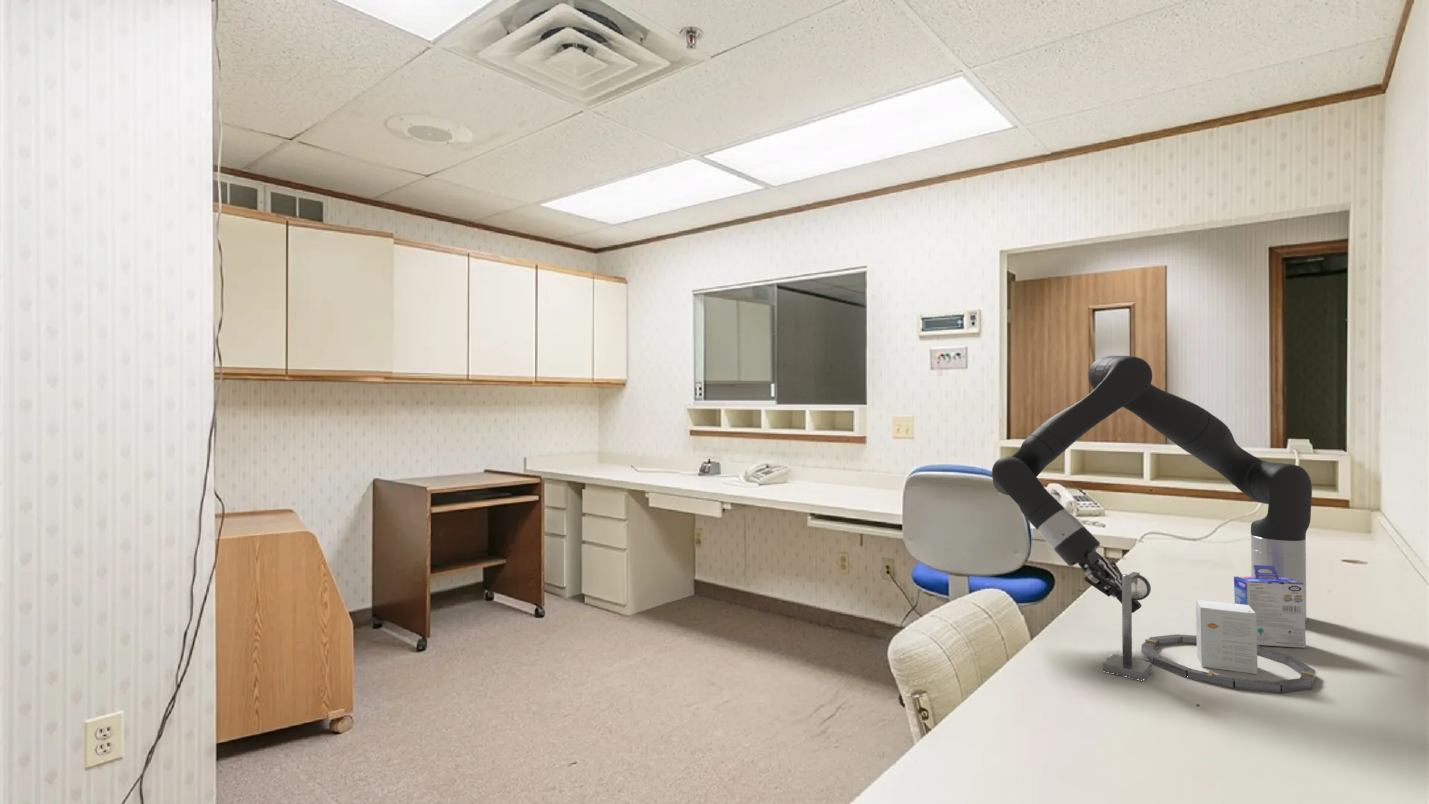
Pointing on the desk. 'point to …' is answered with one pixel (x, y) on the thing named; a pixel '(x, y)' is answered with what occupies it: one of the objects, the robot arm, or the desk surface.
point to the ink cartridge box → (1274, 607)
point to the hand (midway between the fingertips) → (1137, 609)
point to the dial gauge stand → (1129, 630)
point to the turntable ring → (1244, 684)
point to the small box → (1226, 636)
